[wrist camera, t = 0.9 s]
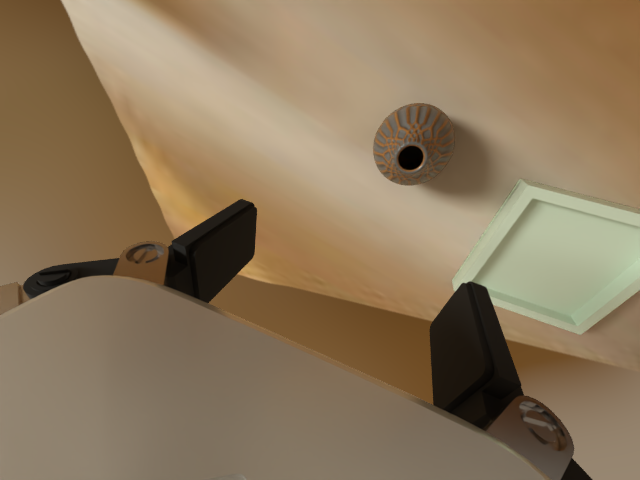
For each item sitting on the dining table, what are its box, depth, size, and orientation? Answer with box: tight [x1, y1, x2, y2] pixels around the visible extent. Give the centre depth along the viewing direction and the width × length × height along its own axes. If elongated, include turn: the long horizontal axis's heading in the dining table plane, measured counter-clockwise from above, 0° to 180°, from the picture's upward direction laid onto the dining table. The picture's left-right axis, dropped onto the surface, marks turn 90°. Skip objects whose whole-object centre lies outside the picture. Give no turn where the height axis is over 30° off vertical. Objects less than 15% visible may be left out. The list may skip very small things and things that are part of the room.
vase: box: [373, 103, 455, 185], centre depth 22 cm, size 7×7×9 cm
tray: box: [452, 179, 640, 335], centre depth 26 cm, size 14×14×2 cm
